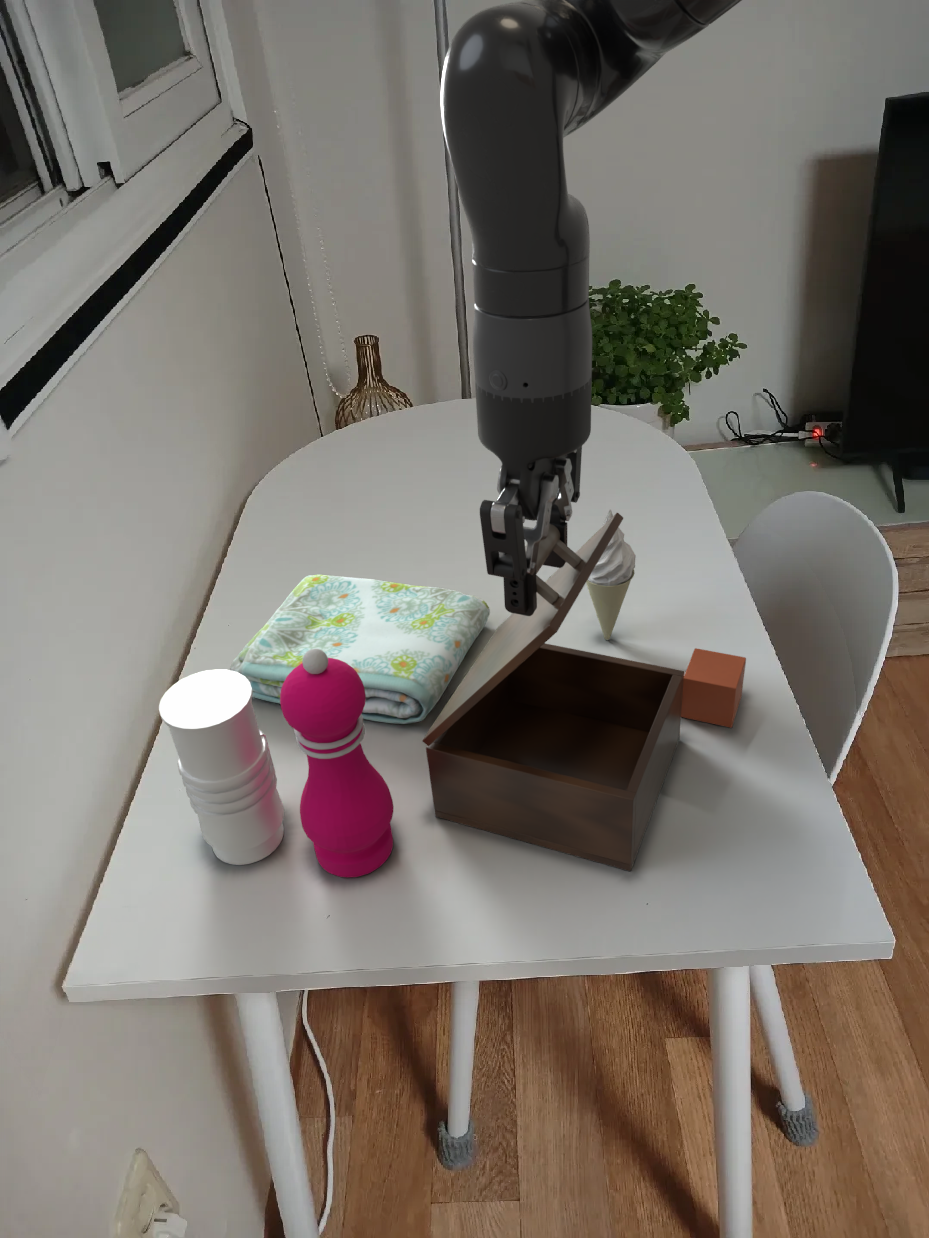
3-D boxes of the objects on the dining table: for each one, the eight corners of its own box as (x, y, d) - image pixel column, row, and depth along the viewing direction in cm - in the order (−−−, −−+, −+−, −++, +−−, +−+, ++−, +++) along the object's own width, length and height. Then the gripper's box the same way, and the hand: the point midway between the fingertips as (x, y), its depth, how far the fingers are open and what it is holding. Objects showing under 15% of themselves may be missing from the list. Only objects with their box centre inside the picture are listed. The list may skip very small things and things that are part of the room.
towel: (313, 597, 107) (306, 559, 104) (493, 623, 100) (490, 583, 97) (229, 699, 93) (217, 658, 90) (430, 738, 87) (425, 695, 84)
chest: (679, 739, 84) (684, 670, 79) (630, 871, 73) (633, 800, 68) (505, 700, 90) (500, 634, 86) (434, 816, 79) (425, 747, 74)
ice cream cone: (620, 659, 94) (623, 527, 85) (573, 645, 96) (572, 515, 87) (640, 631, 97) (645, 502, 88) (595, 619, 100) (595, 491, 91)
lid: (624, 517, 74) (578, 477, 73) (557, 632, 62) (502, 585, 62) (503, 633, 85) (463, 599, 85) (428, 746, 74) (382, 708, 74)
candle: (306, 833, 78) (271, 694, 70) (235, 883, 75) (188, 743, 66) (260, 792, 83) (221, 656, 74) (190, 838, 79) (140, 700, 70)
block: (741, 696, 88) (746, 657, 85) (731, 728, 85) (736, 688, 82) (691, 686, 90) (694, 647, 87) (680, 717, 86) (683, 677, 84)
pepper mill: (411, 821, 79) (380, 625, 67) (381, 891, 73) (342, 691, 61) (330, 808, 81) (287, 615, 69) (295, 874, 75) (241, 678, 63)
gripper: (550, 423, 54) (552, 653, 64) (621, 337, 65) (614, 546, 75) (432, 408, 57) (451, 632, 67) (518, 328, 68) (524, 531, 77)
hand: (537, 586), depth 71 cm, fingers closed on lid, 6 cm apart
